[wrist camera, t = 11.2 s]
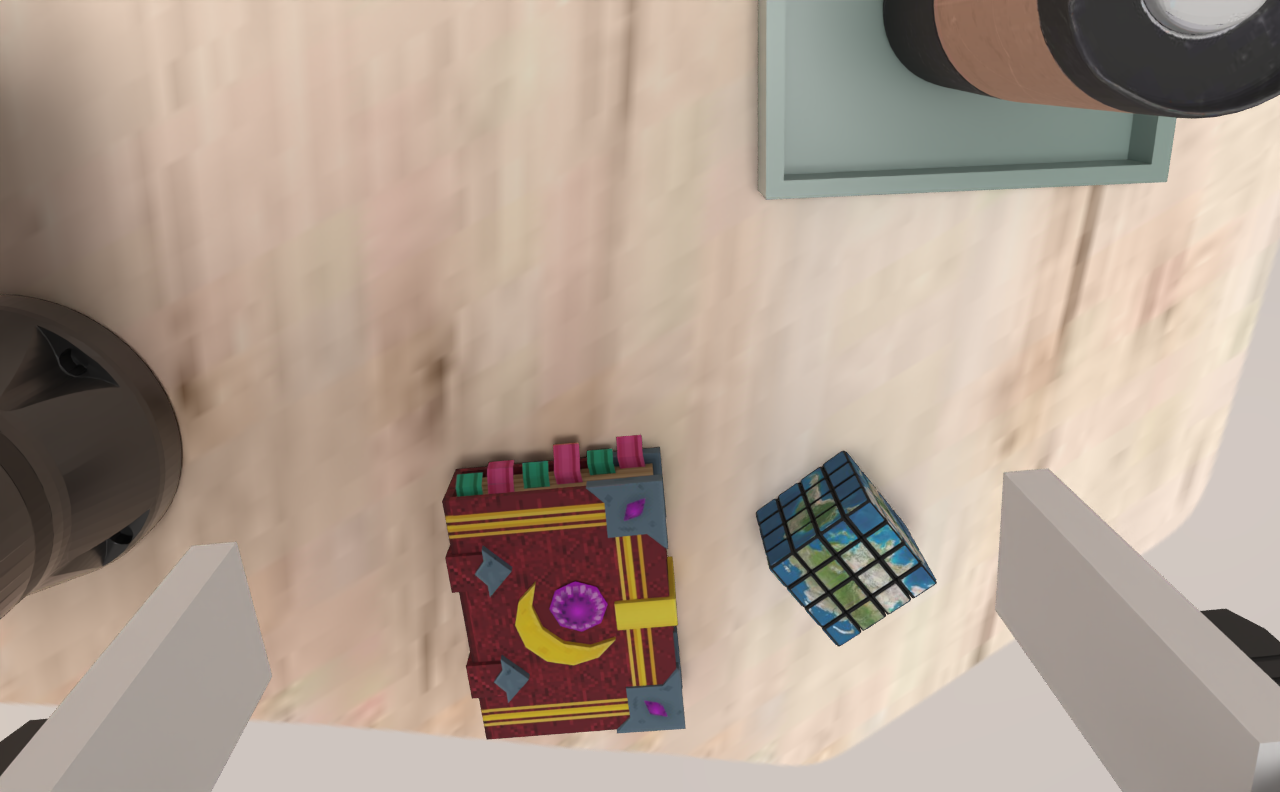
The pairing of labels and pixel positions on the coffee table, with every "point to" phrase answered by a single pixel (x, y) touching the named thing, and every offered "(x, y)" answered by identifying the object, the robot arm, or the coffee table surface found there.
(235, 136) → the coffee table surface
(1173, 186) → the coffee table surface
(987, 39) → the travel mug
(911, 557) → the puzzle
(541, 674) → the decorative book
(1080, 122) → the tray
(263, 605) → the coffee table surface
